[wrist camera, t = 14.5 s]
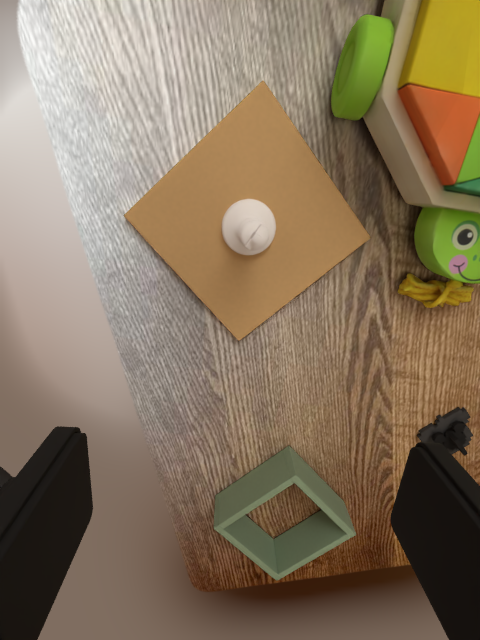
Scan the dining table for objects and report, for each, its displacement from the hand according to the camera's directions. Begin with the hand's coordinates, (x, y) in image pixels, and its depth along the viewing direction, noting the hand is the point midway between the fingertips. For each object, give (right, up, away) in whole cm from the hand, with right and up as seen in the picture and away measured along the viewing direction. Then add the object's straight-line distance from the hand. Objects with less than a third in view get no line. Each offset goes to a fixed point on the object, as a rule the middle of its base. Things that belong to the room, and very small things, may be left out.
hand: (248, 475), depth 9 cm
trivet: (+1, +13, +21) cm, 25 cm away
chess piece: (+1, +13, +21) cm, 24 cm away
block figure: (+24, -9, +29) cm, 39 cm away
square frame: (+5, -18, +32) cm, 37 cm away
